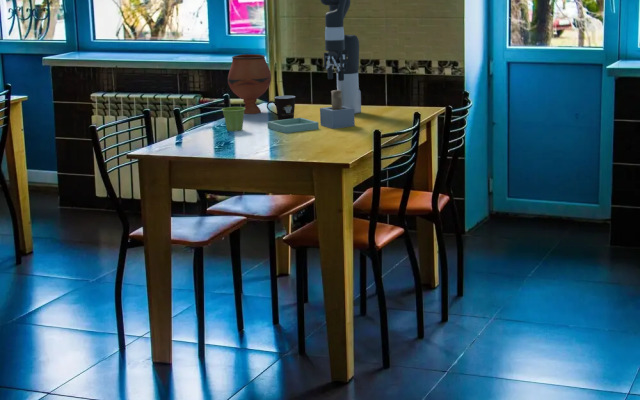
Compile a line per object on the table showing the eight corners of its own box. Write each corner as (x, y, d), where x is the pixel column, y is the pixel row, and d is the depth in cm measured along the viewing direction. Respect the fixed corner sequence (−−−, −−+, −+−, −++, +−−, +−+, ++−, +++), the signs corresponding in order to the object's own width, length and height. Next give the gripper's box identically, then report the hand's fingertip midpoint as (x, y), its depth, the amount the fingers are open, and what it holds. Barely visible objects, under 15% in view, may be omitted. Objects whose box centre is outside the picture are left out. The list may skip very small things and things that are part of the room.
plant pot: (242, 132, 409) (241, 110, 407) (219, 132, 411) (218, 110, 409) (249, 128, 418) (248, 106, 416) (226, 128, 420) (225, 106, 418)
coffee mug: (297, 119, 435) (296, 95, 433) (295, 122, 427) (294, 98, 425) (270, 119, 437) (268, 95, 434) (267, 123, 428) (265, 98, 426)
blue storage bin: (341, 122, 423) (341, 105, 421) (354, 125, 414) (354, 108, 413) (320, 125, 418) (319, 108, 416) (332, 128, 410) (332, 111, 408)
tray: (300, 123, 423) (300, 117, 423) (318, 128, 410) (318, 122, 410) (267, 128, 416) (267, 121, 416) (285, 133, 403) (284, 126, 403)
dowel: (339, 124, 419) (338, 89, 416) (344, 125, 415) (343, 90, 412) (330, 125, 417) (329, 90, 414) (335, 126, 414) (334, 91, 410)
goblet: (243, 117, 445) (240, 59, 439) (221, 112, 460) (218, 56, 454) (281, 112, 455) (278, 55, 449) (259, 107, 470) (256, 52, 464)
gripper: (352, 39, 404) (353, 80, 408) (334, 37, 416) (335, 77, 420) (335, 40, 400) (336, 82, 404) (317, 38, 412) (318, 79, 416)
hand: (335, 79), depth 412 cm, fingers open, 8 cm apart
